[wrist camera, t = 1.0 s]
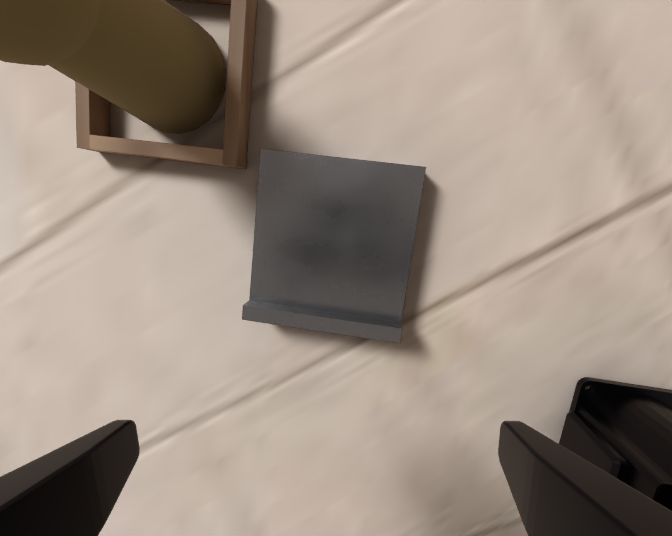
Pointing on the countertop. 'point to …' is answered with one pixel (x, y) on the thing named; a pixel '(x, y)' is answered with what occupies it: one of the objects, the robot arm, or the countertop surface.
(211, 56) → the cork
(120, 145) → the socket collar
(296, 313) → the gray hardcover book
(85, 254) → the countertop surface
